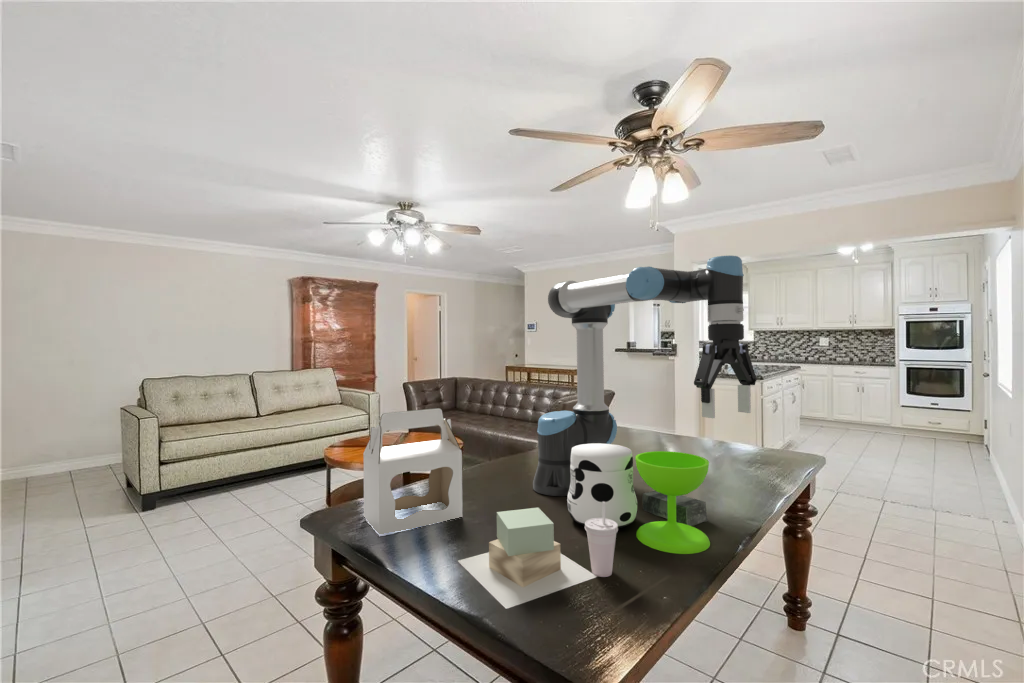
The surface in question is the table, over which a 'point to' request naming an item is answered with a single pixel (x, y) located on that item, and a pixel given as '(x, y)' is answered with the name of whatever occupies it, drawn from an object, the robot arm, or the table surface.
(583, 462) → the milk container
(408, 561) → the table surface
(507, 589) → the felt mat
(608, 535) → the smoothie
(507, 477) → the table surface
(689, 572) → the table surface
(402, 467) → the gable box
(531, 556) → the beech tray
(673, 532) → the wineglass
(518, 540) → the sage block
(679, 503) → the stone block
